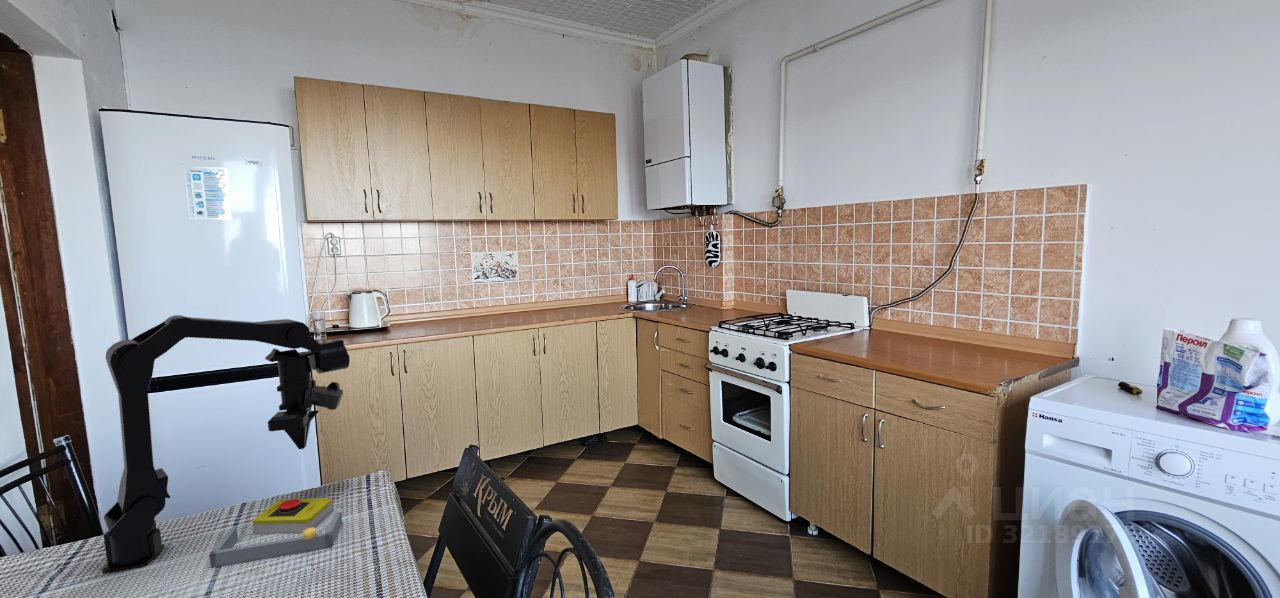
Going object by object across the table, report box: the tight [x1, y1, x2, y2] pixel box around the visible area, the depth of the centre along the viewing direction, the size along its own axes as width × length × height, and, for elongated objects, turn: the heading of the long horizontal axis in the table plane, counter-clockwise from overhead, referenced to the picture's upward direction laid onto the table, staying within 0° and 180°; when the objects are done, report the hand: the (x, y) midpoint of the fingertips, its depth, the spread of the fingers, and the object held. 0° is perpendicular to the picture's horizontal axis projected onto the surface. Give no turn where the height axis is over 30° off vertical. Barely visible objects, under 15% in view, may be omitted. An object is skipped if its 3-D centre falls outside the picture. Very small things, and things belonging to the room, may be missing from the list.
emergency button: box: [245, 497, 344, 536], centre depth 111 cm, size 9×4×15 cm
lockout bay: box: [208, 511, 343, 568], centre depth 103 cm, size 19×10×4 cm, turn 107°
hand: (302, 448), depth 119 cm, fingers closed
